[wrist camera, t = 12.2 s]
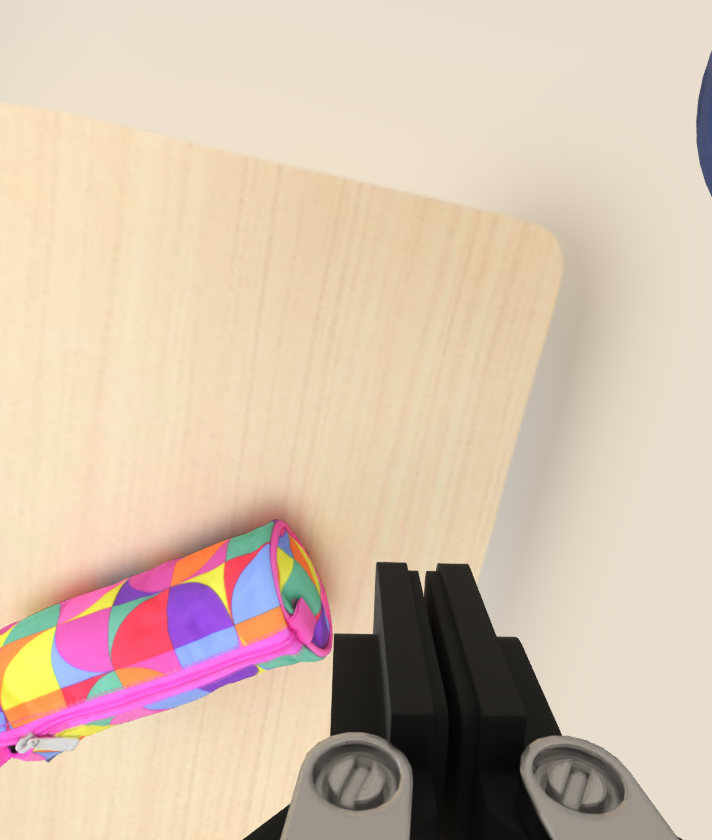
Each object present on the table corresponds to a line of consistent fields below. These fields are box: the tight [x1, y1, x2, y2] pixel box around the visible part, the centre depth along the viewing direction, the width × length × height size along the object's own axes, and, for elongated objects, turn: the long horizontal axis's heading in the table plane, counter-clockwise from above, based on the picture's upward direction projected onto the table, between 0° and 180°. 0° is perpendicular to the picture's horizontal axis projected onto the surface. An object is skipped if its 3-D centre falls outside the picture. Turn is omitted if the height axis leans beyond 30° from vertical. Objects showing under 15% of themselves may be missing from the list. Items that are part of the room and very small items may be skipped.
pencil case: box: [0, 520, 333, 767], centre depth 39 cm, size 22×9×9 cm, turn 115°
